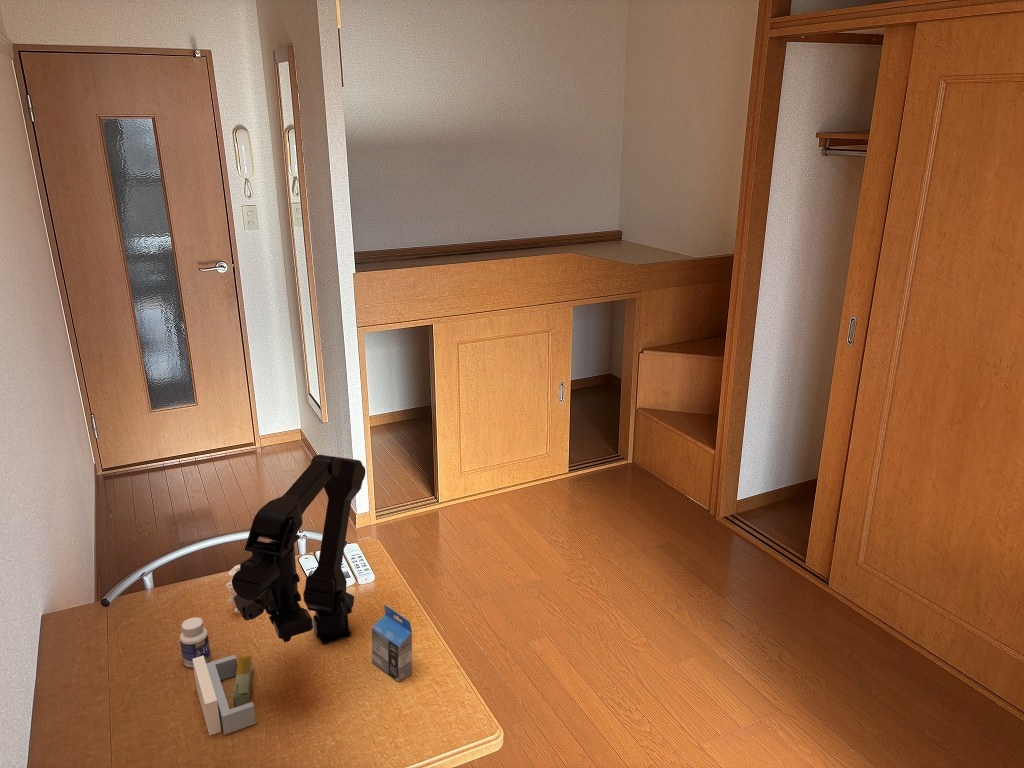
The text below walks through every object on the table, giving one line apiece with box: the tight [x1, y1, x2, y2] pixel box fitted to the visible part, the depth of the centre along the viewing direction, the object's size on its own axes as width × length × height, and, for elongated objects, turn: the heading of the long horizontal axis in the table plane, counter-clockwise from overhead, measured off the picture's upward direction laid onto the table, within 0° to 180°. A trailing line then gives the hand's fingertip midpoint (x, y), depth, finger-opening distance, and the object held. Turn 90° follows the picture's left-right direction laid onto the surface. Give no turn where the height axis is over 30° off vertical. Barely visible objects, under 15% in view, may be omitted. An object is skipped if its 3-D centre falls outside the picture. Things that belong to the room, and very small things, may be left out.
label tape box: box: [371, 604, 413, 682], centre depth 151 cm, size 9×4×12 cm, turn 47°
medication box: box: [233, 654, 253, 708], centre depth 145 cm, size 12×3×4 cm, turn 15°
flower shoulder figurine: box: [225, 564, 240, 614], centre depth 170 cm, size 9×4×12 cm, turn 173°
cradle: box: [206, 654, 257, 735], centre depth 142 cm, size 6×16×4 cm, turn 31°
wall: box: [193, 656, 222, 737], centre depth 140 cm, size 2×14×7 cm, turn 30°
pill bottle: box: [179, 617, 211, 669], centre depth 153 cm, size 5×5×9 cm
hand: (286, 640), depth 145 cm, fingers closed
